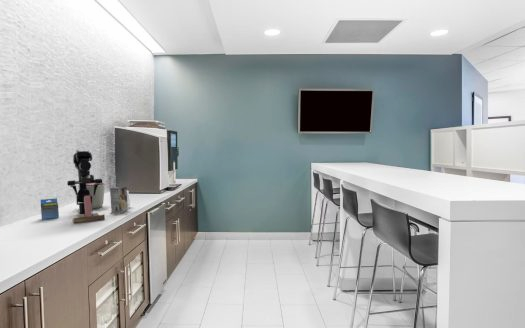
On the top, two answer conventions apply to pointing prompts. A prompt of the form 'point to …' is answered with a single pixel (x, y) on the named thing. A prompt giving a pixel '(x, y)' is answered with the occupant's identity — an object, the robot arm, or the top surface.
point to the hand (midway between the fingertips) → (85, 196)
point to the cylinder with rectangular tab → (128, 199)
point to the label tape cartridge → (49, 209)
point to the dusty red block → (87, 206)
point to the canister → (96, 194)
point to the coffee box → (118, 199)
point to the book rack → (88, 218)
